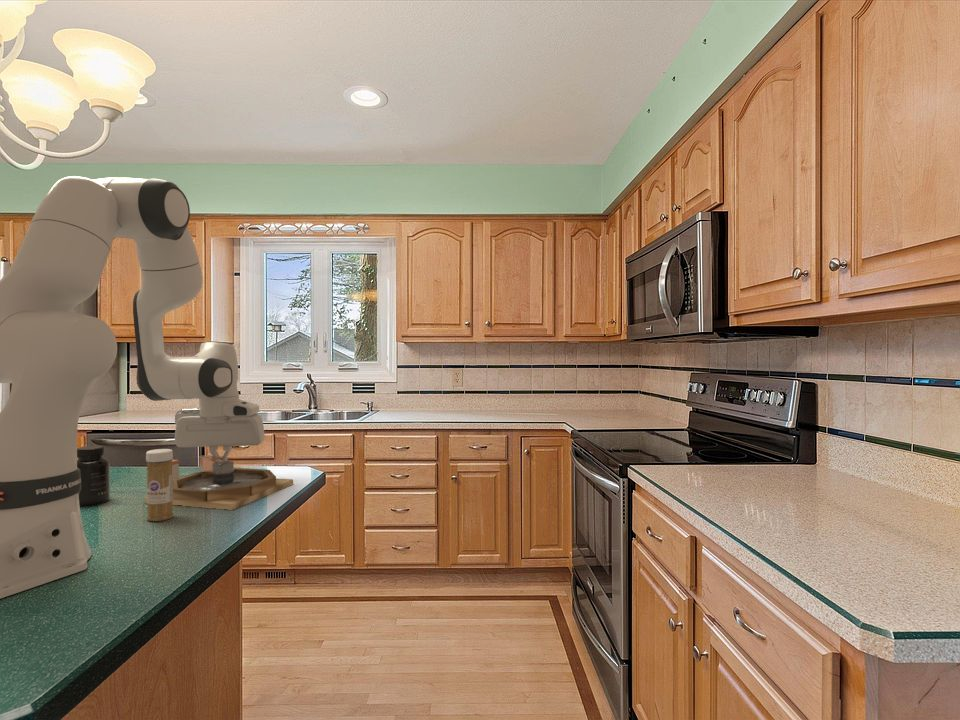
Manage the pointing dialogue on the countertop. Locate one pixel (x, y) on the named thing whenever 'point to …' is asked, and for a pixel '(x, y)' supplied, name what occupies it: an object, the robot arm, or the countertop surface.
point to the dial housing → (226, 491)
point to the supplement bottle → (93, 475)
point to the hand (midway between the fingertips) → (220, 464)
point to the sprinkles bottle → (159, 484)
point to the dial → (219, 475)
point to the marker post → (175, 469)
